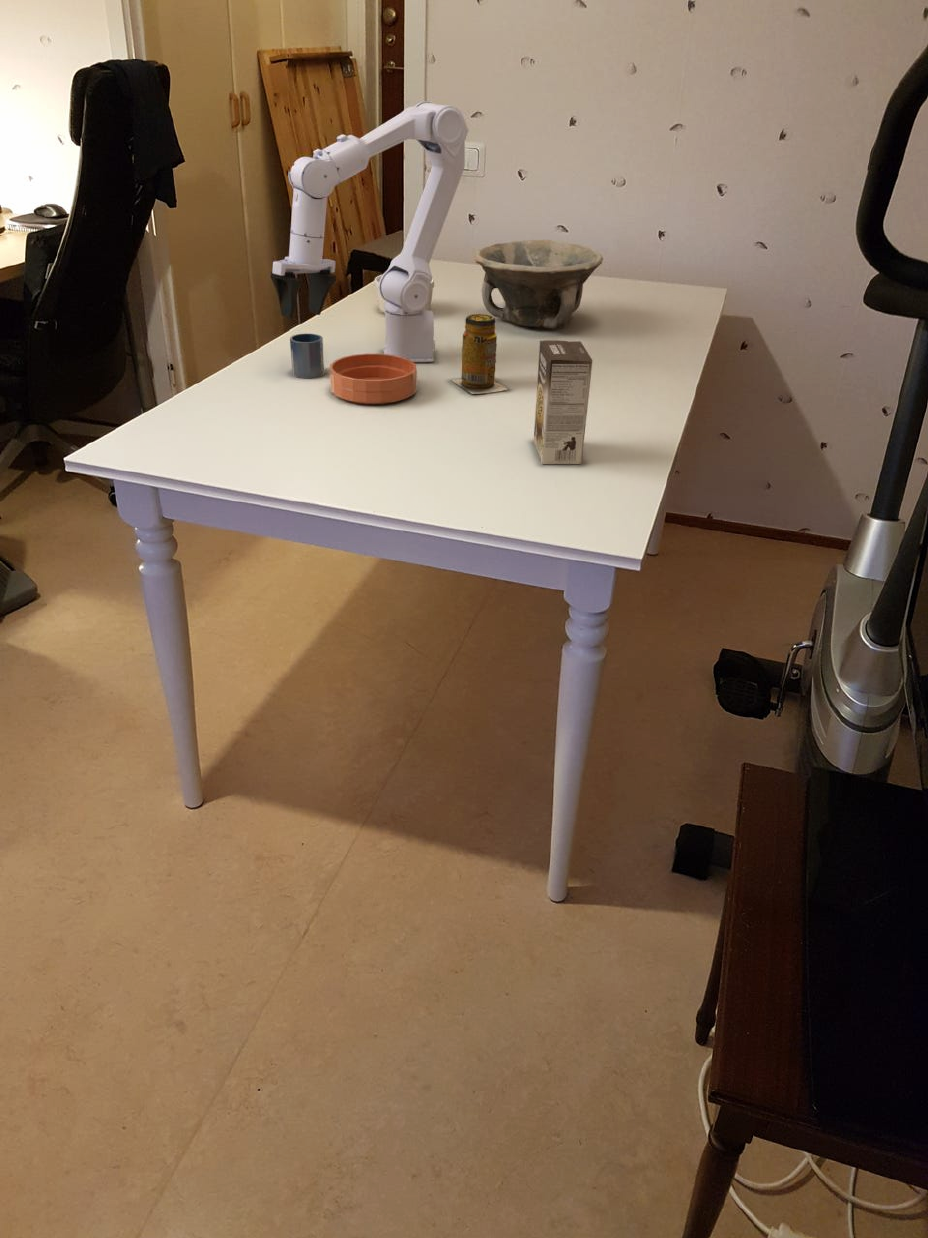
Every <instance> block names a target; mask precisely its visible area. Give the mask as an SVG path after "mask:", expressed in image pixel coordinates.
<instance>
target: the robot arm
mask: <svg viewBox="0 0 928 1238" xmlns="http://www.w3.org/2000/svg"><path fill="white" fill-rule="evenodd" d="M468 133H469V128H468V125H467V123H466V120H465V118H464V115H463V114H462V111H461V110H460V109H459V108H457V107H456V106H454V105H443V104H438V103H432V102H430V101H426V100H425V101H424V100H423V101H420V102H418V103H417V104H415V105H412V106H409V107H406V108H405V109H404V110H403V111H401V112H400V113H399V114H397V115H396V116H394V117H392V118H391V119H389V120H387V121H386V122H384V123H382V124H381V125H379V126H377V127H376V128H374V129H372V130H371V131H369V132H367V133H366V134H364V135H363V136H362V137H357V136H354V135H352V134H349V135H345V134H343V133H342V134H340V135H338V136H337V137H336V140H337V141H336V142H334V143H332V144H330V145H328V146H326V147H324V148H322V149H320V148H317V149H315V150H313V155H312V157H311V156H301V157H299V158H297V159H296V160H295V161H294V162H293V165H292V166H291V169H290V171H288V173H287V175H288V176H287V177H288V182H289V185H290V186H291V187H292V190H293V192H292V193H293V194H292V204H291V205H292V206H291V220H290V234H289V247H288V249H289V250H288V256H284V259H281V260H275V261H273V262H272V271H270V279H271V281H272V284H273V286H274V288H275V291H276V294H277V299H278V302H279V309H280V313H281V316H282V317H285V318H287V319H293V318H294V315H295V311H296V310H295V309H296V303H297V302H296V301H297V296H298V292H299V290H300V288H301V285H302V283H303V279H300V278H297V277H296V275H297V274H305V276H306V279H307V285H308V287H307V288H308V311H309V313H310V314H313V315H317V316H320V315H321V314H322V311H323V309H324V305H325V302H326V299H327V296H328V295H329V292H330V291H331V288H332V287H333V285H335V283H336V281H337V275H336V274H334V273H335V271H336V261H335V260H332V259H328V258H323V253H324V244H325V243H324V241H325V230H326V219H327V218H326V216H327V205H328V204H327V203H328V197H329V196H331V194H332V192H333V191H334V189H335V187H336V186H337V185H339V184H340V183H343V182H344V181H346V180H348V179H350V178H352V177H353V176H355V175H357V174H359V173H360V172H362V171H365V170H366V169H367V167H368V164H369V161H370V158H372V157H374V156H376V155H378V154H381V153H382V152H384V151H386V150H389V149H390V148H393V147H395V146H397V145H400V144H401V143H403V142H405V141H408V140H416V141H417V142H418V143H419V145H420V146H421V147H422V148H423V150H424V151H425V152H426V154H427V157H428V160H429V162H430V164H431V170H430V172H429V175H428V178H427V180H426V183H425V186H424V189H423V191H422V194H421V197H420V200H419V202H418V205H417V208H416V211H415V213H414V217H413V219H412V222H411V224H410V227H409V230H408V233H407V236H406V239H405V242H404V244H403V247H402V249H401V252H400V253H399V254H398V255H396V256H395V257H394V258H393V259H391V261H390V265H389V266H388V268H387V270H385V271H384V273H383V274H381V275H382V277H381V279H380V281H379V292H380V295H381V297H382V298H383V299H384V300H385V314H384V315H385V316H384V317H385V319H384V322H385V324H384V325H385V347H384V348H383V354H390V355H396V356H400V357H404V358H406V359H409V360H411V361H413V362H414V363H434V361H435V358H434V355H435V354H434V353H435V350H436V340H435V315H434V311H433V310H424V308H425V307H426V306H427V304H428V302H429V298H430V284H431V281H432V278H433V274H432V271H431V270H432V269H431V267H430V263H431V259H432V257H433V255H434V251H435V248H436V245H437V243H438V240H439V238H440V235H441V232H442V230H443V228H444V224H445V223H446V222H445V221H446V218H447V216H448V214H449V211H450V208H451V206H452V202H453V200H454V197H455V194H456V192H457V189H458V186H459V184H460V181H461V178H462V176H463V173H464V170H465V161H466V160H465V157H466V155H465V153H466V152H465V151H466V150H465V148H466V147H465V141H466V138H467V136H468Z"/></svg>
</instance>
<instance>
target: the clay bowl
mask: <svg viewBox="0 0 928 1238" xmlns="http://www.w3.org/2000/svg"><path fill="white" fill-rule="evenodd" d="M417 372H418V369H417V364H416V362H413V361H411V360H409V359H406V358H404V357H400V356H396V355H390V354H384V353H371V352H370V353H357V354H352V355H351V354H350V355H347V356H342V357H340V358H338V359H336V360H333V362H331V363H330V364H329V381H330V382H329V383H330V392H331V393H332V394H333V395H334V396H336V397H338V398H340V399H342V400H345V401H348V402H351V403H355V404H363V405H386V404H387V405H388V404H392V403H397V402H400V401H403V400H405V399H408V398H410V397H412V396H413V395H414V394H415V393H416V392H417V391H418V387H417V386H418V380H417V379H418V375H417V374H418V373H417Z"/></svg>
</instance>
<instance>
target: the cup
mask: <svg viewBox="0 0 928 1238" xmlns="http://www.w3.org/2000/svg"><path fill="white" fill-rule="evenodd" d="M289 337H290V338H289V346H290V359H291V361H290V362H291V370H292V375H293V376H294V377H296V378H299V379H316V378H320V377H322V376H324V375H325V357H324V356H325V355H324V338H323V336H322V335H320V334H316V333H297V334H293V335H291V336H289Z"/></svg>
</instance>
